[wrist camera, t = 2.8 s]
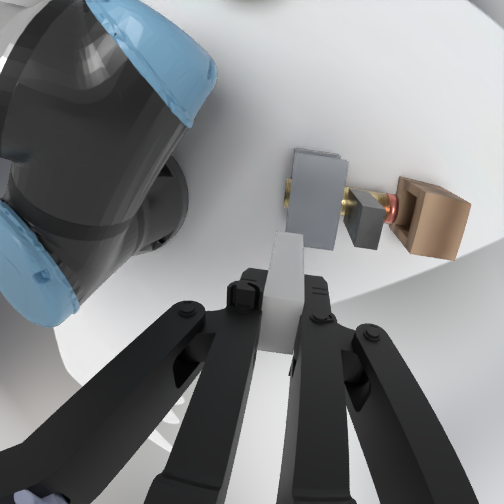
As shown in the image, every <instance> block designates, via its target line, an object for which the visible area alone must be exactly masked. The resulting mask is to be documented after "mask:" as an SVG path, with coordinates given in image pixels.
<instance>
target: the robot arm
mask: <svg viewBox="0 0 504 504" xmlns="http://www.w3.org/2000/svg"><path fill="white" fill-rule="evenodd" d="M216 80H217V68H216V65H215V63H214V61H213V59H212V58H211V56H210V55H209V54H208V53H207V52H206V51H205V50H204V49H203V48H202V47H201V46H200V45H199V44H198V43H197V42H196V41H195V40H193V39H192V38H191V37H190V36H189V35H187V34H186V33H185V32H184V31H183V30H181V29H180V28H179V27H178V26H176V25H175V24H174V23H172V22H171V21H170V20H168V19H167V18H165V17H164V16H163V15H161V14H160V13H158V12H157V11H155V10H154V9H152V8H151V7H149V6H148V5H146V4H144V3H143V2H141V1H140V0H43V1H41V2H39V3H38V4H36V5H34V6H32V7H29V8H28V7H24V6H20V5H15V4H10V3H5V2H0V157H1V158H4V159H8V160H11V161H12V165H11V170H10V175H9V181H8V186H7V190H6V193H5V195H4V196H3V197H2V198H0V291H1V293H2V294H3V295H4V297H5V298H6V299H7V301H8V302H9V303H10V304H11V305H12V306H13V307H14V308H15V309H16V310H17V311H18V312H19V313H20V314H21V315H22V316H24V317H25V318H26V319H27V320H29V321H31V322H33V323H34V324H38V325H40V326H42V327H49V328H51V327H55V326H58V325H60V324H61V323H62V322H63V321H64V320H66V319H67V318H68V317H69V316H70V315H71V314H75V313H76V312H77V311H78V310H79V308H80V306H81V305H82V304H83V303H84V302H85V301H86V300H87V299H88V298H89V297H90V296H91V295H92V294H93V293H94V292H95V291H96V290H97V289H98V288H99V287H100V286H101V285H102V284H103V283H104V282H105V281H106V280H107V279H108V278H109V277H110V276H111V275H112V274H113V273H114V272H115V271H116V270H117V269H118V268H119V267H120V266H122V265H123V264H124V263H125V262H126V261H127V260H128V259H129V258H130V257H131V256H135V255H139V254H143V253H147V252H151V251H154V250H156V249H158V248H160V247H162V246H163V245H165V244H166V243H167V242H168V241H169V240H170V239H171V238H172V237H173V236H174V235H175V234H176V233H177V232H178V231H179V229H180V228H181V226H182V224H183V222H184V220H185V217H186V213H187V209H188V189H187V184H186V181H185V178H184V175H183V173H182V171H181V169H180V167H179V165H178V164H177V162H176V161H175V160H174V158H173V157H172V156H171V153H172V152H173V150H174V149H175V147H176V146H177V144H178V143H179V141H180V140H181V138H182V137H183V135H184V134H185V132H186V131H187V129H188V128H189V129H191V127H192V126H193V124H194V121H193V120H194V118H195V116H196V115H197V113H198V111H199V110H200V108H201V106H202V105H203V103H204V102H205V100H206V99H207V97H208V96H209V94H210V93H211V91H212V90H213V88H214V86H215V84H216ZM257 350H261V351H268V352H276V353H283V354H291V355H292V354H293V351H294V355H293V359H292V364H291V367H290V372H289V376H290V388H289V399H288V410H287V420H286V430H285V439H284V448H283V457H282V465H281V473H280V480H279V488H278V495H277V502H276V504H357V503H356V501H355V500H354V499H353V498H352V497H351V495H350V488H349V448H348V428H347V412H346V406H347V409H348V412H349V414H350V417H351V420H352V423H353V425H354V428H355V431H356V433H357V436H358V439H359V442H360V445H361V448H362V450H363V453H364V456H365V459H366V462H367V464H368V468H369V471H370V474H371V476H372V479H373V482H374V485H375V488H376V491H377V494H378V497H379V501H380V504H479V502H478V500H477V498H476V495H475V493H474V491H473V488H472V486H471V484H470V482H469V480H468V478H467V476H466V473H465V471H464V469H463V467H462V465H461V463H460V460H459V458H458V457H457V454H456V452H455V450H454V448H453V446H452V444H451V443H450V441H449V439H448V437H447V435H446V433H445V431H444V429H443V427H442V425H441V424H440V422H439V420H438V418H437V416H436V414H435V412H434V411H433V409H432V407H431V405H430V404H429V402H428V400H427V398H426V397H425V395H424V393H423V391H422V390H421V388H420V386H419V384H418V383H417V381H416V379H415V378H414V376H413V374H412V373H411V371H410V369H409V368H408V366H407V364H406V363H405V361H404V359H403V358H402V356H401V355H400V353H399V351H398V350H397V348H396V347H395V345H394V344H393V342H392V340H391V339H390V337H389V336H388V334H387V333H386V332H385V331H384V330H383V329H382V328H381V327H379V326H377V325H374V324H361V325H359V326H358V327H357V328H356V331H355V330H352V329H349V328H346V327H344V326H341V325H340V324H338V323H337V319H336V317H335V315H334V314H333V313H331V306H330V299H329V292H328V285H327V282H326V281H325V280H324V278H323V277H320V276H312V275H305V274H304V246H303V234H295V233H288V232H280V231H277V232H276V236H275V241H274V246H273V251H272V256H271V261H270V265H269V270H261V269H254V268H248V269H247V270H245V271H244V272H243V273H242V276H241V279H240V281H235V282H233V283H230V284H229V286H228V287H227V306H226V308H224V309H221V310H217V311H205V308H204V307H203V305H202V304H200V303H198V302H195V301H181V302H178V303H176V304H174V305H173V306H172V307H171V308H169V309H168V310H167V311H166V312H165V313H164V314H163V315H162V316H160V317H159V318H158V319H157V320H156V321H155V322H154V323H153V324H151V325H150V326H149V327H148V328H147V329H146V330H145V331H144V332H143V333H141V334H140V335H139V336H138V337H137V338H136V339H135V340H134V341H132V342H131V343H130V344H129V345H128V346H127V347H126V348H125V349H124V350H122V351H121V352H120V353H119V354H118V355H117V356H116V357H115V358H114V359H113V360H111V361H110V362H109V363H108V364H107V365H106V366H105V367H104V368H103V369H102V370H100V371H99V372H98V373H97V374H96V375H95V376H94V377H93V378H92V379H91V380H89V381H88V382H87V383H86V384H85V385H84V386H83V387H82V388H81V389H80V390H79V391H77V392H76V393H75V394H74V395H73V396H72V397H71V398H70V399H69V400H68V401H67V402H66V403H65V404H63V405H62V406H61V407H60V408H59V409H58V410H57V411H56V412H55V413H54V414H53V415H51V416H50V417H49V418H48V419H47V420H46V421H45V422H44V423H43V424H42V425H41V426H40V427H39V428H38V429H37V430H35V432H33V433H32V434H31V435H30V436H29V437H28V438H27V439H26V440H25V441H24V442H23V443H21V444H18V445H16V446H13V447H11V448H8V449H6V450H3V451H0V504H90V503H91V502H92V501H93V500H94V499H96V497H98V496H99V495H100V494H101V492H102V491H103V490H104V489H105V488H106V487H107V486H108V484H109V483H110V482H111V481H112V480H113V478H114V477H115V476H116V475H117V474H118V473H119V471H120V470H121V469H122V468H123V467H124V465H125V464H126V463H127V462H128V461H129V460H130V458H131V457H132V456H133V455H134V454H135V452H136V451H137V450H138V449H139V448H140V446H141V445H142V444H143V443H144V442H145V440H146V439H147V438H148V437H149V435H150V434H151V433H152V432H153V431H154V429H155V428H156V427H157V426H158V424H159V423H160V422H161V421H162V419H163V418H164V417H165V416H166V414H167V413H168V412H169V411H170V409H171V408H172V407H173V406H174V404H175V403H176V402H177V401H178V399H179V398H180V397H181V396H182V394H183V393H184V392H185V390H186V389H187V388H188V387H189V385H190V384H191V383H192V381H193V380H194V379H195V378H196V376H197V375H198V374H199V372H200V371H201V370H202V371H201V374H200V377H199V379H198V382H197V385H196V387H195V390H194V392H193V395H192V398H191V400H190V403H189V406H188V408H187V411H186V414H185V416H184V419H183V421H182V424H181V427H180V429H179V432H178V435H177V437H176V440H175V443H174V445H173V448H172V451H171V453H170V456H169V459H168V461H167V464H166V466H165V469H164V470H163V472H162V473H160V474H158V475H157V476H156V477H155V479H154V480H153V482H152V484H151V486H150V489H149V491H148V494H147V496H146V499H145V501H144V504H224V502H225V498H226V494H227V489H228V485H229V480H230V476H231V472H232V468H233V464H234V459H235V454H236V450H237V446H238V441H239V436H240V432H241V427H242V423H243V418H244V413H245V409H246V404H247V399H248V394H249V390H250V384H251V380H252V375H253V370H254V365H255V360H256V352H257Z"/></svg>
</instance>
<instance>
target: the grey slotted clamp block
mask: <svg viewBox="0 0 504 504" xmlns="http://www.w3.org/2000/svg"><path fill="white" fill-rule="evenodd" d="M347 168H348V161H347V160H343V159H340V155H339V154H334V153H328V152H321V151H315V150H307V149H300V148H295V152H294V161H293V170H292V182H291V190H290V199H289V208H288V214H287V222H286V232H288V233H295V234H303V246H304V247H310V248H317V249H325V250H332V251H333V249H334V244H335V239H336V233H337V228H338V223H339V217H340V212H341V206H342V200H343V194H344V188H345V182H346V175H347Z"/></svg>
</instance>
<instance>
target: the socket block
mask: <svg viewBox="0 0 504 504" xmlns="http://www.w3.org/2000/svg"><path fill="white" fill-rule="evenodd" d="M396 195H397V197H398V200H399V211H398V216H397V219H396V221H395V222H394V223H393V224H390V225H389V227H390V229H391V230H392V231H393V232H394V234H395V235H396V236H397V237H398V239H399V240H400V241H401V243H402V244H403V245H404V246H405V248H406V249H407V250H408V252H409V253H410V254H414V255H421V256H427V257H433V258H440V259H446V260H452V261H455V258H456V255H457V252H458V249H459V246H460V243H461V240H462V237H463V233H464V230H465V226H466V223H467V219H468V215H469V211H470V208H471V204H470V203H469V202H467V201H465V200H464V199H462V198H460V197H458V196H457V195H455V194H453V193H451V192H449V191H448V190H446V189H444V188H442V187H440V186H437V185H433V184H429V183H425V182H421V181H417V180H413V179H408V178H404V177H399V182H398V187H397V193H396Z"/></svg>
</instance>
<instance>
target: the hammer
mask: <svg viewBox="0 0 504 504" xmlns="http://www.w3.org/2000/svg"><path fill="white" fill-rule="evenodd" d="M291 182H292V179H287V181H286V189H285V198H284V207H288V208H289V199H290V190H291ZM398 211H399V200H398V197H397V195H393V194H388V193H386V194H383V193H378V192H373V191H367V190H361V189H356V188H350V187H345V188H344V194H343V200H342V206H341V212H340V215H344V220H343V222H344V224H345V226H346V228H347V231H348V233H349V235H350V238H351V240H352V242H353V245H354V247H359V248H366V249H373V250H377V247H378V243H379V239H380V235H381V231H382V227H383V223H389V224H393V223H394V222H395V221H396V219H397V216H398Z"/></svg>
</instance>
